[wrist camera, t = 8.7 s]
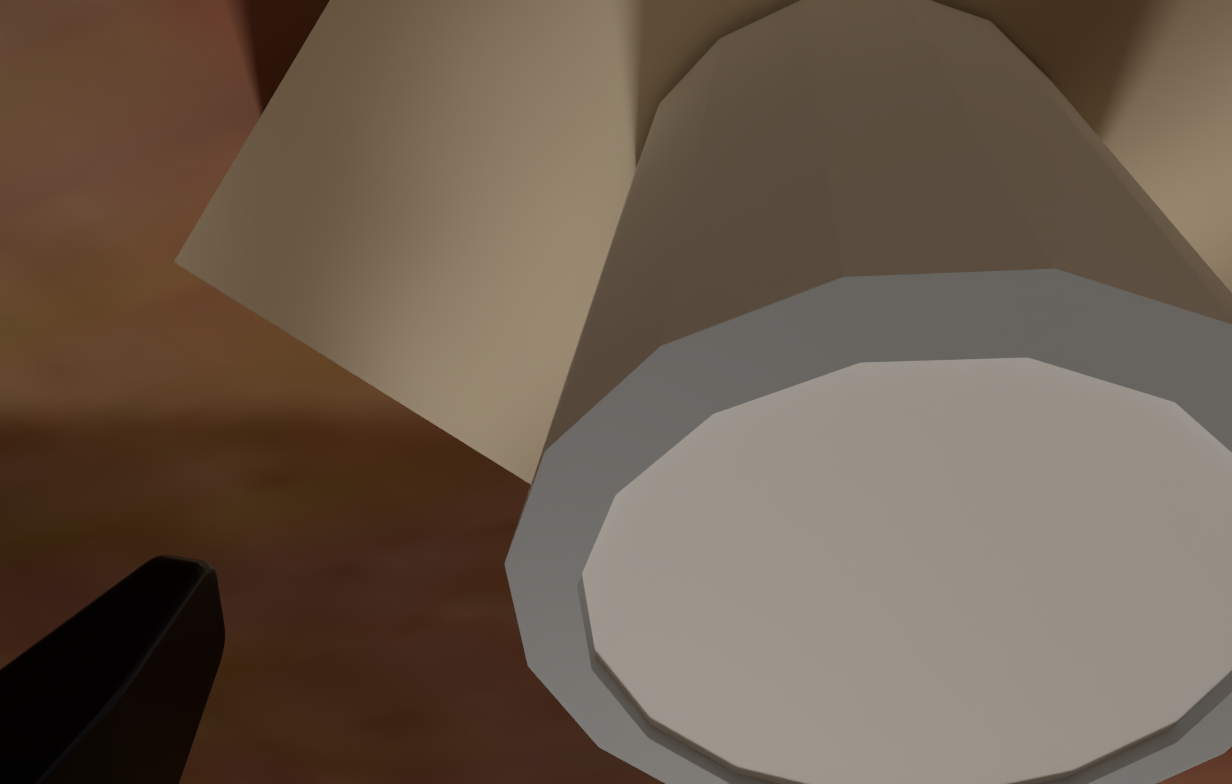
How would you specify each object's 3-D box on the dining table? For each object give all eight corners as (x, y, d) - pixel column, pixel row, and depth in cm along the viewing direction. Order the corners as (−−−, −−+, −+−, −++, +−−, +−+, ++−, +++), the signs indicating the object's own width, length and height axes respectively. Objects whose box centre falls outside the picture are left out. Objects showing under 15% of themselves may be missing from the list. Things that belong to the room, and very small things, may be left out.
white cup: (953, -206, 12) (1148, 65, 6) (1217, 252, 15) (1501, 701, 9) (476, 159, 15) (330, 554, 9) (777, 476, 18) (798, 913, 12)
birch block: (279, 131, 20) (173, 262, 17) (831, -767, 13) (851, -874, 9) (853, 522, 24) (866, 693, 21) (1527, 23, 17) (1727, 160, 13)
